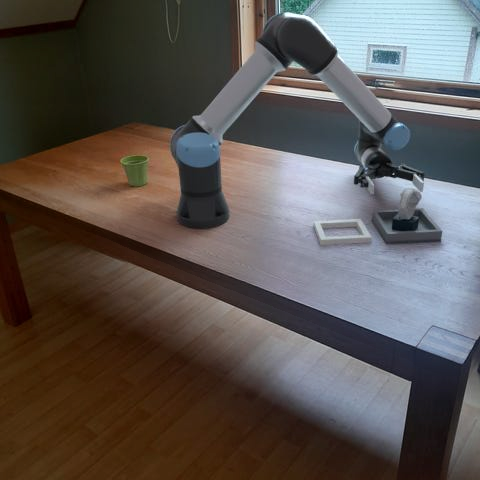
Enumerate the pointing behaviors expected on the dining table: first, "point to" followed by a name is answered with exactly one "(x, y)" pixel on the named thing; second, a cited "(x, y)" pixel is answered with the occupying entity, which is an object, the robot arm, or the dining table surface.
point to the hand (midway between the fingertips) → (397, 188)
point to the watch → (407, 211)
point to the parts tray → (423, 233)
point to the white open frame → (324, 240)
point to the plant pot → (136, 169)
